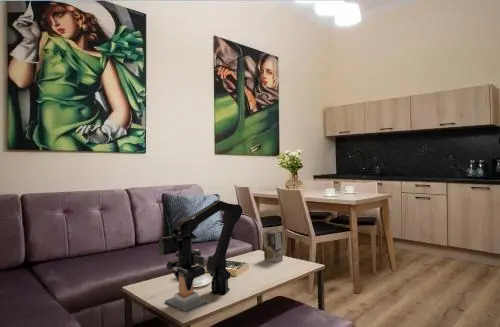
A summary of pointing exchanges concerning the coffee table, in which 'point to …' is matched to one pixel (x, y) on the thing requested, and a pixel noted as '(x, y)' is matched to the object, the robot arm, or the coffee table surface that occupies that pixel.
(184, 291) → the orange block
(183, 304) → the collar
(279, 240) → the coffee box
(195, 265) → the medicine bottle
